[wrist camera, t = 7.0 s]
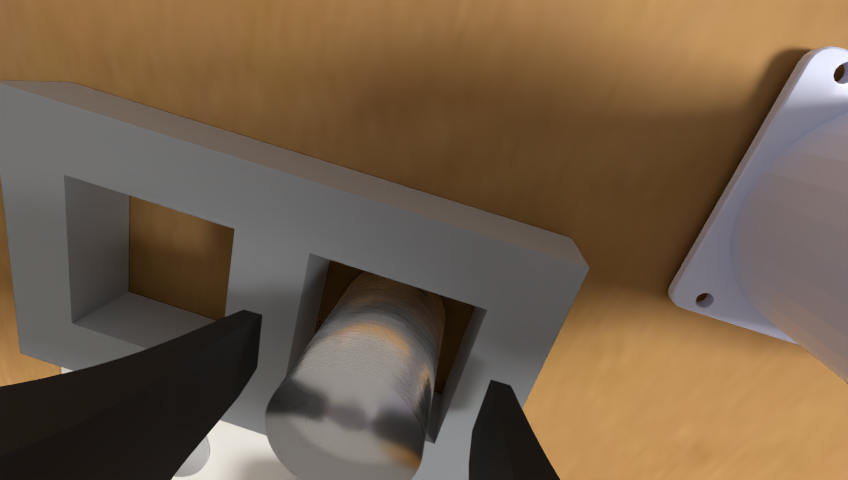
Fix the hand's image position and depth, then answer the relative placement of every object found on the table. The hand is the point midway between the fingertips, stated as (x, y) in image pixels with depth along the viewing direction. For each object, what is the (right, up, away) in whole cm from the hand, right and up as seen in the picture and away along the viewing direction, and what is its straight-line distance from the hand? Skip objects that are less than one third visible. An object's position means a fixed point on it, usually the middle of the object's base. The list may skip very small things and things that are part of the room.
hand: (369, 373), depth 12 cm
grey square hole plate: (-3, +2, +3) cm, 5 cm away
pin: (0, +1, +3) cm, 3 cm away
